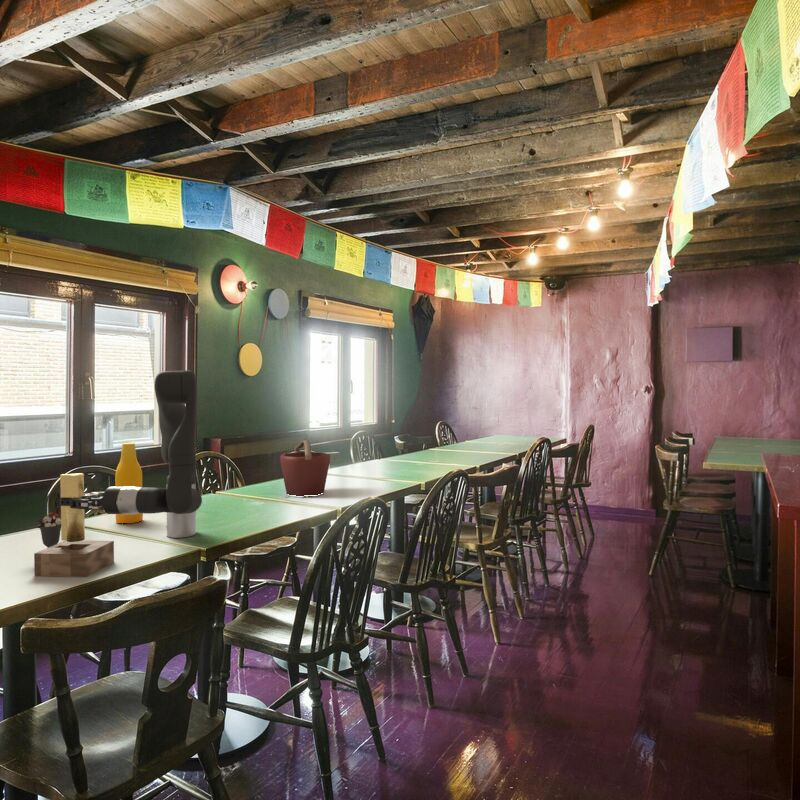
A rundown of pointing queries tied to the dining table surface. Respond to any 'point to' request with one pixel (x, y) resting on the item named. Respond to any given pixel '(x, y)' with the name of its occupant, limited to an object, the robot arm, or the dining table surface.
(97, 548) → the walnut socket block
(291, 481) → the bucket
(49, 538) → the sundae
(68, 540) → the brass peg
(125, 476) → the beer bottle
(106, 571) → the dining table surface
